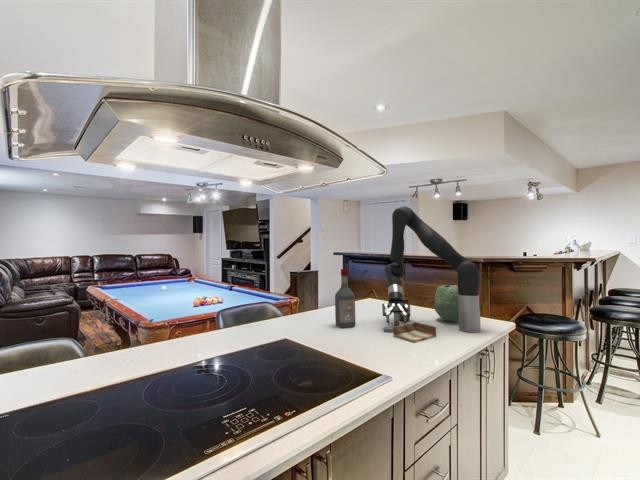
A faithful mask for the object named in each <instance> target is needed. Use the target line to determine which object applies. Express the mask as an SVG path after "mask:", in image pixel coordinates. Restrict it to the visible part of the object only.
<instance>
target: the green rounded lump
mask: <svg viewBox="0 0 640 480" xmlns="http://www.w3.org/2000/svg"><path fill="white" fill-rule="evenodd" d="M433 309H434V311H435V313H436V314H437V315H438V317H440V318H441V319H442V320H443V321H446V322H456V321H459V305H458V284H455V285H452V284H451V285H446V284H443V285H439V286H438V287H437V289H436V291H435V295H434V307H433Z"/></svg>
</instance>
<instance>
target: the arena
mask: <svg viewBox="0 0 640 480" xmlns="http://www.w3.org/2000/svg"><path fill="white" fill-rule="evenodd" d="M392 334H393V333H392ZM436 337H437V334H436V335H432V334H429V333H425V332H421V331H417V330H414V331H410V332H406V333H402V334H397V335H394V334H393V338H397V339H400V340H402V341H403V340H404V341H407V342H411V343H414V344H415V343H418V342H423V341H425V340H426V341H427V340H429V339H434V338H436Z"/></svg>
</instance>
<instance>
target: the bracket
mask: <svg viewBox="0 0 640 480" xmlns="http://www.w3.org/2000/svg"><path fill="white" fill-rule="evenodd" d="M399 325H400V321H399V312H394V313H393V326H392V327H391V326H389V327H388V326H383V333H392V334H393V327H395V326H399Z"/></svg>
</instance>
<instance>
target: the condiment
mask: <svg viewBox="0 0 640 480" xmlns="http://www.w3.org/2000/svg"><path fill="white" fill-rule="evenodd" d="M409 301H410V300H409V298H404V297H403V303H404V305H408V304H410V302H409ZM404 311H405V312H406V313H408V309H406V308H405V307H404ZM400 322H401V323H404V316H403V315H402V314H401V313H399V323H400ZM413 322H415V321H414V320H411V316H410V317H407V323H413Z"/></svg>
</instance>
